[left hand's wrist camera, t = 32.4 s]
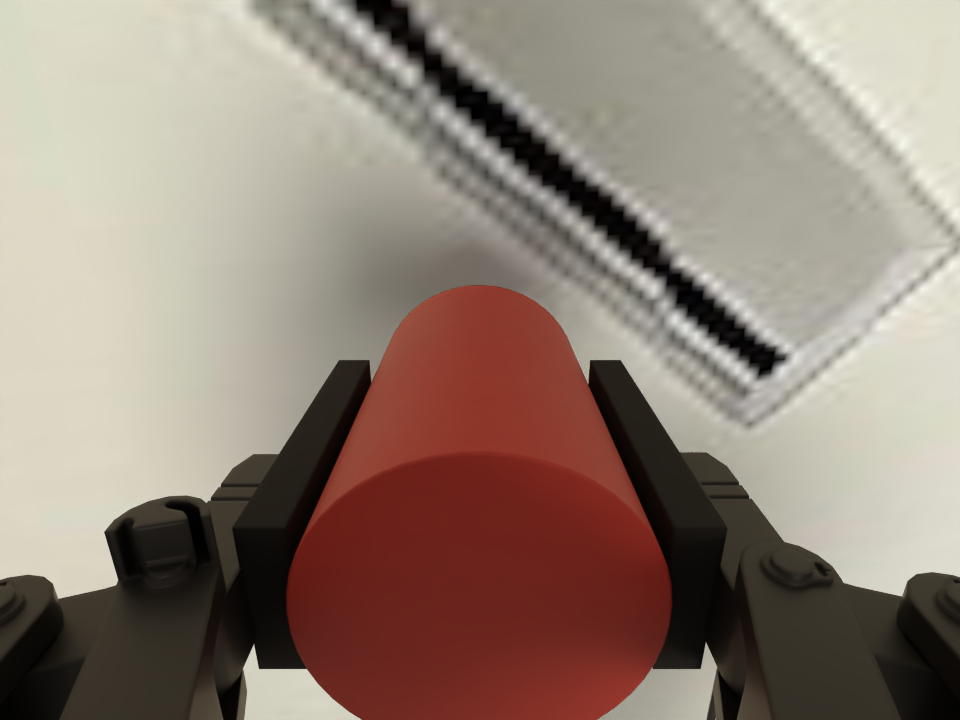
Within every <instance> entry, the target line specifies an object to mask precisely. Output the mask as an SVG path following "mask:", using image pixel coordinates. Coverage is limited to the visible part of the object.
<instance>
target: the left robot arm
mask: <svg viewBox="0 0 960 720" xmlns="http://www.w3.org/2000/svg"><path fill="white" fill-rule="evenodd" d="M370 385H371V375H370V362H369V360H339V361H338V363H337V364H336V366H335V367H334V369H333V371H332V372H331V374H330V375H329V377H328V378H327V380H326V382H325V383H324V385H323V386H322V388H321V389H320V391H319V392H318V394H317V396H316V397H315V399H314V400H313V402H312V403H311V405H310V407H309V408H308V410H307V411H306V413H305V414H304V416H303V418H302V419H301V421H300V422H299V424H298V425H297V427H296V428H295V430H294V432H293V433H292V435H291V436H290V438H289V439H288V441H287V443H286V444H285V446H284V447H283V449H282V450H281V452H280V454H253V455H252V456H250V457H249V458H247V459H246V460H244V461H243V462H242V463H240V464H239V465H237V466H236V467H234V468H233V469H232V470H231V472H230V473H229V474H228V476H227V477H226V478H225V480H224V481H223V482H222V484H221V487H219V488H218V489H217V490H216V492H215V493H214V494H213V496H212V497H211V501H208V502H207V503H205V502H204V501H203V500H202V499H200V498H195V497H191V496H169V497H164V498H160V499H156V500H152V501H148V502H146V503H144V504H141V505H139V506H137V507H134V508H132V509H130V510H128V511H127V512H125V513H124V514H122V515H121V516H120V517H118V518H117V519H115V520H114V521H113V522H112V523H111V525H110V526H109V527H108V528H107V529H106V531H105V532H104V533H105V536H106V539H107V543H108V546H109V550H110V553H111V556H112V560H113V563H114V567H115V570H116V573H117V577H118V583H117V585H116V586H113V587H109V588H106V589H102V590H97V591H93V592H88V593H84V594H79V595H75V596H70V597H65V598H61V599H58V597H57V595H56V592H55V589H54V586H53V584H52V583H51V582H50V581H49V580H47V579H46V578H45V577H41V576H33V575H24V576H17V577H10V578H5V579H2V580H0V720H244V715H245V705H246V696H247V688H246V681H245V676H244V671H243V667H244V665H245V662H246V660H247V658H248V656H249V654H250V651H251V649H252V647H253V645H255V650H256V655H257V661H258V666H259V669H307V668H306V667H305V665H304V663H303V661H302V659H301V657H300V656H299V654H298V652H297V650H296V647H295V644H294V641H293V639H292V636H291V633H290V629H289V623H288V618H287V612H286V589H287V582H288V576H289V571H290V568H291V565H292V562H293V559H294V556H295V553H296V550H297V548H298V546H299V544H300V541H301V539H302V537H303V535H304V533H305V530H306V528H307V526H308V524H309V521H310V519H311V517H312V515H313V512H314V510H315V508H316V506H317V504H318V501H319V499H320V497H321V495H322V492H323V490H324V488H325V486H326V483H327V481H328V479H329V477H330V475H331V472H332V470H333V468H334V466H335V463H336V461H337V459H338V457H339V454H340V452H341V450H342V448H343V445H344V443H345V441H346V439H347V437H348V434H349V432H350V430H351V428H352V425H353V423H354V421H355V419H356V416H357V414H358V412H359V410H360V408H361V405H362V403H363V401H364V399H365V396H366V394H367V392H368V390H369V387H370ZM588 386H589V388H590V390H591V392H592V395H593V397H594V399H595V401H596V404H597V406H598V408H599V410H600V413H601V415H602V417H603V419H604V422H605V424H606V426H607V428H608V431H609V433H610V435H611V438H612V440H613V442H614V444H615V447H616V449H617V451H618V453H619V456H620V458H621V460H622V462H623V465H624V467H625V469H626V471H627V474H628V476H629V478H630V480H631V483H632V485H633V487H634V489H635V492H636V494H637V496H638V498H639V501H640V503H641V505H642V508H643V510H644V512H645V514H646V517H647V519H648V521H649V523H650V526H651V528H652V530H653V532H654V535H655V537H656V539H657V541H658V544H659V546H660V548H661V551H662V553H663V556H664V558H665V561H666V563H667V566H668V571H669V576H670V580H671V585H672V611H671V619H670V626H669V630H668V633H667V636H666V640H665V643H664V646H663V648H662V650H661V652H660V654H659V656H658V658H657V660H656V662H655V664H654V665H653V669H701V664H702V659H703V654H704V648H705V643H707V645H708V647H709V649H710V652H711V654H712V656H713V658H714V660H715V663H716V665H717V671H716V676H715V681H714V686H713V690H712V695H711V700H710V705H709V710H708V715H707V720H715V719H716V720H960V577H957V576H954V575H947V574H941V573H934V572H931V573H923V574H916V575H915V576H914V577H912V578H911V579H910V580H909V581H908V582H907V584H906V587H905V590H904V593H903V596H902V597H901V596H897V595H892V594H887V593H883V592H878V591H874V590H869V589H865V588H860V587H856V586H852V585H849V584H845V583H843V582H842V579H841V578H840V577H839V575H838V574H837V572H836V571H835V569H834V568H833V567H832V566H831V565H830V564H828V563H827V562H826V561H825V560H823V559H822V558H821V557H819V556H818V555H816V554H814V553H812V552H810V551H808V550H806V549H804V548H802V547H800V546H797V545H793V544H789V543H786V542H784V541H783V540H782V538H781V537H780V536H779V535H778V533H777V532H776V531H775V529H774V528H773V527H772V525H771V524H770V523H769V521H768V520H767V519H766V517H765V516H764V515H763V513H762V512H761V511H760V509H759V508H758V507H757V505H756V504H755V503H754V502H753V500H752V499H749V495H748V494H747V492H746V491H745V490H744V488H743V487H742V486H741V485H739V482H738V480H737V479H736V478H735V476H734V475H733V474H732V472H731V471H730V470H729V468H728V467H727V466H726V465H724V464H723V463H721V462H720V461H718V460H717V459H715V458H714V457H712V456H711V455H709V454H708V453H679V451H678V449H677V448H676V446H675V445H674V443H673V442H672V440H671V438H670V437H669V435H668V434H667V432H666V431H665V429H664V427H663V426H662V424H661V423H660V421H659V420H658V418H657V417H656V415H655V413H654V412H653V410H652V409H651V407H650V406H649V404H648V402H647V401H646V399H645V398H644V396H643V395H642V393H641V391H640V390H639V388H638V387H637V385H636V384H635V382H634V381H633V379H632V377H631V376H630V374H629V373H628V371H627V370H626V368H625V366H624V365H623V363H622V362H621V360H590V371H589V384H588Z"/></svg>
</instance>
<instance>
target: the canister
mask: <svg viewBox="0 0 960 720" xmlns="http://www.w3.org/2000/svg"><path fill="white" fill-rule="evenodd" d="M671 611H672V585H671V580H670V576H669V571H668V566H667V563H666V561H665V558H664V556H663V553H662V551H661V548H660V546H659V544H658V541H657V539H656V537H655V535H654V532H653V530H652V528H651V526H650V523H649V521H648V519H647V517H646V514H645V512H644V510H643V508H642V505H641V503H640V501H639V498H638V496H637V494H636V492H635V489H634V487H633V485H632V483H631V480H630V478H629V476H628V474H627V471H626V469H625V467H624V465H623V462H622V460H621V458H620V456H619V453H618V451H617V449H616V447H615V444H614V442H613V440H612V438H611V435H610V433H609V431H608V428H607V426H606V424H605V422H604V419H603V417H602V415H601V413H600V410H599V408H598V406H597V404H596V401H595V399H594V397H593V395H592V392H591V390H590V388H589V386H588V383H587V381H586V379H585V377H584V374H583V372H582V370H581V368H580V365H579V363H578V361H577V359H576V356H575V354H574V352H573V349H572V347H571V345H570V343H569V340H568V338H567V336H566V335H565V333H564V331H563V329H562V328H561V326H560V325H559V324H558V322H557V321H556V320H555V318H554V317H553V316H552V315H551V314H550V313H549V312H548V311H547V310H546V309H545V308H543V307H542V306H540V305H539V304H538V303H536V302H535V301H534V300H532V299H530V298H528V297H526V296H524V295H523V294H520V293H517V292H515V291H512V290H509V289H505V288H501V287H496V286H486V285H472V286H464V287H458V288H454V289H451V290H447V291H444V292H442V293H439V294H437V295H435V296H433V297H431V298H429V299H428V300H426V301H424V302H423V303H421V304H420V305H419V306H417V307H416V308H415V309H414V310H412V311H411V312H410V313H409V314H408V315H407V317H406V318H405V319H404V320H403V321H402V322H401V324H400V325H399V327H398V328H397V329H396V331H395V333H394V335H393V337H392V339H391V341H390V343H389V345H388V347H387V350H386V352H385V354H384V356H383V358H382V361H381V363H380V365H379V367H378V370H377V372H376V374H375V376H374V379H373V381H372V383H371V385H370V387H369V390H368V392H367V394H366V396H365V399H364V401H363V403H362V405H361V408H360V410H359V412H358V414H357V416H356V419H355V421H354V423H353V425H352V428H351V430H350V432H349V434H348V437H347V439H346V441H345V443H344V445H343V448H342V450H341V452H340V454H339V457H338V459H337V461H336V463H335V466H334V468H333V470H332V472H331V475H330V477H329V479H328V481H327V483H326V486H325V488H324V490H323V492H322V495H321V497H320V499H319V501H318V504H317V506H316V508H315V510H314V512H313V515H312V517H311V519H310V521H309V524H308V526H307V528H306V530H305V533H304V535H303V537H302V539H301V541H300V544H299V546H298V548H297V550H296V553H295V556H294V559H293V562H292V565H291V568H290V571H289V576H288V582H287V589H286V612H287V618H288V623H289V629H290V633H291V636H292V639H293V641H294V644H295V647H296V650H297V652H298V654H299V656H300V657H301V659H302V661H303V663H304V665H305V667H306V668H307V670H308V671H309V672H310V674H311V675H312V676H313V678H314V679H315V680H316V682H317V683H318V684H319V685H320V686H321V687H322V688H323V689H324V690H325V691H326V692H327V693H328V694H329V695H330V696H331V697H332V698H333V699H334V700H335V701H336V702H338V703H339V704H340V705H341V706H343V707H344V708H345V709H346V710H348V711H349V712H350V713H352V714H354V715H355V716H357V717H358V718H360V719H362V720H597V719H599V718H600V717H602V716H603V715H605V714H606V713H608V712H609V711H611V710H612V709H613V708H615V707H616V706H617V705H618V704H620V703H621V702H622V701H623V700H624V699H625V698H627V697H628V696H629V695H630V694H631V693H632V692H633V691H634V690H635V689H636V688H637V686H638V685H639V684H640V683H641V682H642V681H643V680H644V679H645V677H646V676H647V674H648V673H649V671H650V670H651V668H652V667H653V665H654V664H655V662H656V660H657V658H658V656H659V654H660V652H661V650H662V648H663V646H664V643H665V640H666V636H667V633H668V630H669V626H670V619H671Z"/></svg>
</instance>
